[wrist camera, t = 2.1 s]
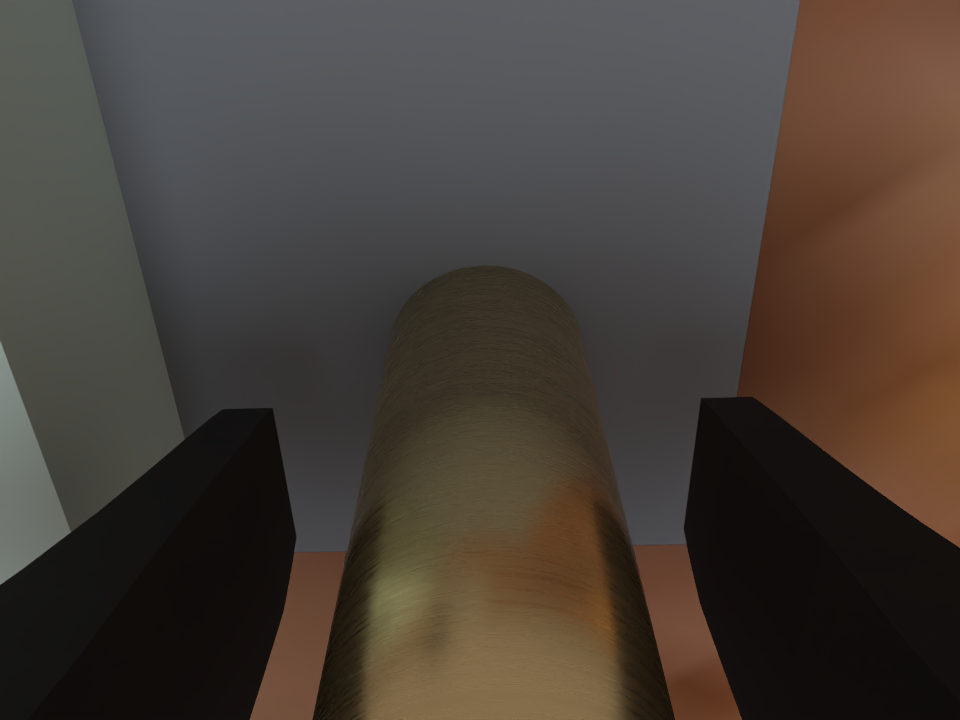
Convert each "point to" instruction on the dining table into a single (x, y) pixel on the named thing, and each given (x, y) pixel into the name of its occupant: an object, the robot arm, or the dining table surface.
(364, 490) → the brass peg
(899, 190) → the dining table surface
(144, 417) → the hole block
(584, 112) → the rubber mat
